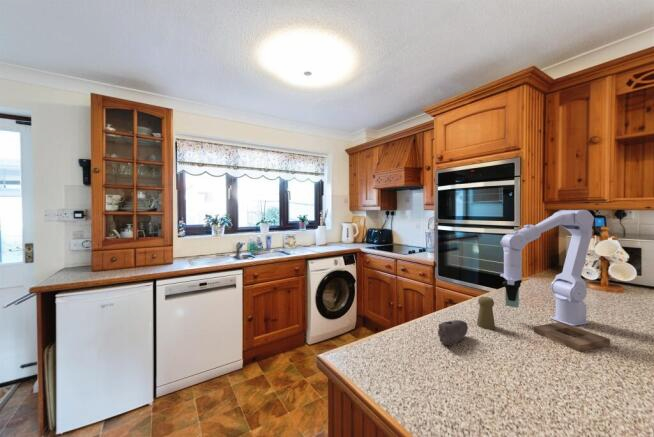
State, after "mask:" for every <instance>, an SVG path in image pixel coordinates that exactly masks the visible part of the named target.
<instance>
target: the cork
mask: <svg viewBox="0 0 654 437" xmlns="http://www.w3.org/2000/svg"><path fill="white" fill-rule="evenodd" d="M477 302H478V305H479V308H478V315H477V320H476V326H477V327H479V328H482V329H485V330H494V329H496V323H495V317H494V308H493V307H494V305H495V301H494V299H493V298H492V297H489V296H480V297H478V300H477Z"/></svg>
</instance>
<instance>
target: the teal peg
mask: <svg viewBox="0 0 654 437" xmlns="http://www.w3.org/2000/svg"><path fill="white" fill-rule="evenodd" d="M505 307H511V308H517V309H518V308H519V307H520V288H519V289H518V291H517V296H516V300H515V301H510V300H508V296H507V291H506V290H505Z"/></svg>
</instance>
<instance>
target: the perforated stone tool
mask: <svg viewBox="0 0 654 437" xmlns="http://www.w3.org/2000/svg"><path fill="white" fill-rule="evenodd" d="M468 330H469V328H468V323H467V322H465V321H464V320H460V319H454V320H447V321H443V322H441V323H439V324H438V331H437V334H438V337H439V341H440V342H441V343H442V344H443V345H445V346H451V345H454V344H456V343H457V342H459V341H461V340H462V339H464V338H465V336H466V335H467V333H468Z"/></svg>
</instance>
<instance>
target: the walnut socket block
mask: <svg viewBox="0 0 654 437" xmlns="http://www.w3.org/2000/svg"><path fill="white" fill-rule="evenodd" d="M533 333H535V334H538V335H540V336H542V337H544V338H546V339H549V340H551V341H554V342H556V343H559V344H561V345H563V346H566V347H567V348H569V349H571V350H574V351H577V352H580V353H581V352H585V351H589V350H595V349H599V348H602V347H606V346H607V347H608V346H610V345H611V339H610V338H608V337H605V336H603V335H599V334H597V333H594V332H591V331H589V330H585V329H583V328H580V327H577V326H572V325H569V324H566V323H563V322H559V321H557V322H554V323H545V324H540V325H535V326H533Z"/></svg>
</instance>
